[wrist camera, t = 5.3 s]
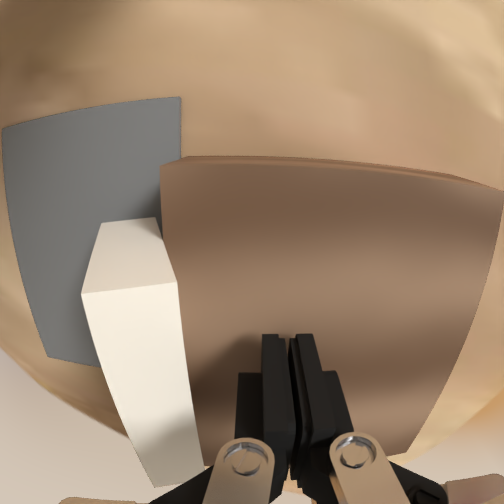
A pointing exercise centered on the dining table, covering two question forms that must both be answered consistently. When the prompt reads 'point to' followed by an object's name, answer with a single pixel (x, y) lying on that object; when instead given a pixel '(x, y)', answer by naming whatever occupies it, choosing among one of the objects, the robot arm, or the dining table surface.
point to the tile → (143, 346)
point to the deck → (326, 279)
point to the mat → (81, 202)
